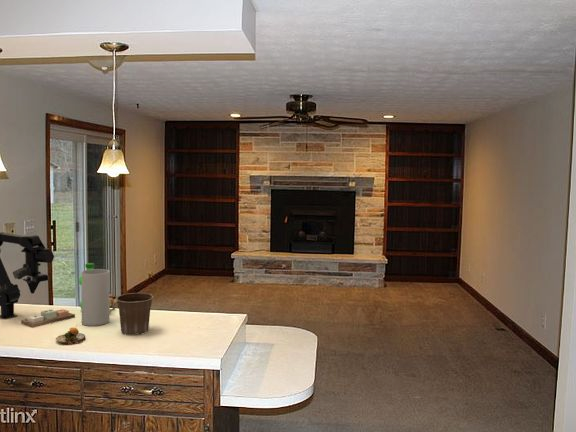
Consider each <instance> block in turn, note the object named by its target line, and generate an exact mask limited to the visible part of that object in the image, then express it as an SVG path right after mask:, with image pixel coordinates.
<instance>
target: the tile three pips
mask: <svg viewBox="0 0 576 432" xmlns="http://www.w3.org/2000/svg"><path fill="white" fill-rule="evenodd" d="M55 311H56V316H58V317H61V316H65V315H69V313H70V310H68V309H63V308H62V309H56V310H55Z"/></svg>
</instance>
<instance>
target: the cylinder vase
mask: <svg viewBox="0 0 576 432" xmlns="http://www.w3.org/2000/svg"><path fill="white" fill-rule="evenodd" d="M80 276H81V285H80V286H81V300H82V309H81V323H82V325H84V326H88V327H96V326H97V327H98V326H103V325H106V324H108V323H109V322H110V314H109V313H110V309H109V307H110V306H109V298H110V270H109V269H103V268H93V269H91V270H87V269H86V270H82V271H81V274H80Z"/></svg>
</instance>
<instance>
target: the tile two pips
mask: <svg viewBox="0 0 576 432" xmlns="http://www.w3.org/2000/svg"><path fill="white" fill-rule="evenodd" d="M40 316H43V317H44V319H45V320H48V319H52V318H55V317H57V316H56V310H54V309H51V308H50V309H47V310H42V311H40Z"/></svg>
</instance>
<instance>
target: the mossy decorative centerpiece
mask: <svg viewBox="0 0 576 432" xmlns="http://www.w3.org/2000/svg"><path fill="white" fill-rule="evenodd" d="M77 327H78V325H76V326H75V327H70V328H69V330H68V331H67V332H65V333H63V334H61V335H58V336H57V337H55V340H56V341H57V342H58V343H61V344H62V346H69V344H71V345H72V346H73V345H74V346H75V345H77V344H80V343H84V342H85V341H86V335H85V334H84V333H81V332H79V329H78V328H77ZM83 341H84V342H83Z"/></svg>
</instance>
